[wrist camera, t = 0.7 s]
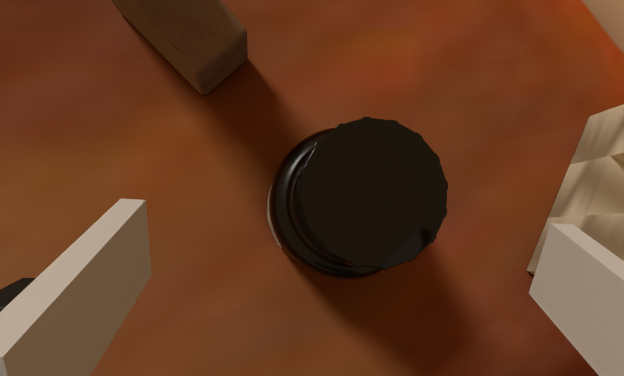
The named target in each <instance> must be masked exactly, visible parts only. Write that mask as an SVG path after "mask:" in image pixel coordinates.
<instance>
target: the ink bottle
mask: <svg viewBox="0 0 624 376" xmlns="http://www.w3.org/2000/svg"><path fill="white" fill-rule="evenodd" d="M447 189H448V183H447V181H446V179H445V176H444V173H443V170H442V167H441V165H440V159H439V157H438V155H437V154H436V153H434V152H433V151H432V149H431V148H430V147H429V146H428V144H427V143H426V142H425V141H424V140H423V137H422V136H421V135H420V134H418V133H417V132H413V131H412V130H410V129H408V128H406V127H405V126H403V125H401V124H399V123H398V122H397V121H394V120H383V119H374V118H371V117H363V118H362V119H360V120H356V121H352V122H349V123H345V124H343V123H342V124H339V125H338V126H336V127H335V128H331V129H326V130H323V131H320V132H317V133H315V134H313V135H311V136H309V137H307V138H306V139H304V140H303V141H301V142H300V143H299V144H298V145H296V146H295V147H294V148H293V149H292V150H291V151H290V152H289V154H288V155H287V156H286V157H285V159H284V160H283V162H282V163H281V165H280V166H279V168H278V170H277V172H276V175H275V177H274V180H273V182H272V185H271V188H270V191H269V195H268V200H267V218H268V223H269V227H270V230H271V232H272V234H273V236H274V238H275V240H276V242H277V244H278V246H280V247H281V248H282V249H283V251H284V252H285V253H286V254H288V255H289V256H290V257H291V258H292V259H294V260H295V261H297V262H298V263H300V264H301V265H303V266H305V267H306V268H308V269H310V270H311V271H314V272H316V273H318V274H321V275H323V276H327V277H330V278H335V279H345V280H350V279H360V278H364V277H368V276H371V275H373V274H376V273H378V272H380V271H381V270H385V269H389V268H390V267H392V266H396V265H398V264H401V263H404V262H407V261H412V260H414V259H415V258H416V257H417V255H418V254H419V253H420V252H422V251H423V250H424V249H425V248H426V247H427V246H428V245H429V244H430V243H432V242H433V241H434V240H435V239H436V234H437V232H438V230H439V228H440V226H441V224H442V221H443V219H444V218H445V217H446V214H447V209H446V204H447Z"/></svg>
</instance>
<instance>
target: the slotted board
mask: <svg viewBox="0 0 624 376" xmlns="http://www.w3.org/2000/svg"><path fill="white" fill-rule="evenodd" d="M551 223H555V224H573V225H574V226H576V227H577V228H579V229H580V230H581V231H583V232H584V233H586V234H587V235H588V236H590V237H591V238H592V239H594V240H595V241H597V242H598V243H599V244H601V245H602V246H603V247H605V248H606V249H608V250H609V251H610V252H612V253H613V254H615V255H616V256H617V257H619V258H620V259H621V260H623V261H624V104H623V105H620V106H617V107H615V108H612V109H609V110H606V111H603V112H600V113H598V114H595V115H592V116H590V117H589V119H588V122H587V124H586V127H585V129H584V131H583V134H582V136H581V139H580V141H579V144H578V146H577V149H576V151H575V153H574V156H573V158H572V161H571V163H570V166H569V168H568V171H567V173H566V175H565V178H564V180H563V183H562V185H561V188H560V190H559V193H558V195H557V197H556V200H555V202H554V205H553V207H552V210H551V212H550V215H549V217H548V219H547V222H546V224H545V227H544V229H543V232H542V234H541V236H540V239H539V241H538V244H537V246H536V249H535V251H534V254H533V256H532V258H531V261H530V263H529V266H528V268H527V271H528V272H530V273H531V274H533V275H535V272H536V269H537V265H538V262H539V259H540V256H541V253H542V249H543V246H544V243H545V240H546V236H547V233H548V230H549V227H550V224H551Z"/></svg>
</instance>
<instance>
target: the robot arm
mask: <svg viewBox="0 0 624 376" xmlns="http://www.w3.org/2000/svg"><path fill="white" fill-rule="evenodd" d="M150 277H151V263H150V250H149V237H148V224H147V212H146V200H135V199H120V200H119V201H118V202H117V203H116V204H115V205H113V206H112V207H111V208H110V209H109V210H108V211H107V212H106V213H105V214H104V215H103V216H102V217H101V218H100V219H99V220H98V221H96V222H95V223H94V224H93V225H92V226H91V227H90V228H89V229H88V230H87V231H86V232H85V233H84V234H83V235H82V236H81V237H79V238H78V239H77V240H76V241H75V242H74V243H73V244H72V245H71V246H70V247H69V248H68V249H67V250H66V251H65V252H63V253H62V254H61V255H60V256H59V257H58V258H57V259H56V260H55V261H54V262H53V263H52V264H51V265H50V266H49V267H48V268H46V269H45V270H44V271H43V272H42V273H41V274H40V275H39V276H38V277H37V278H22V279H20V280H18V281H16V282H14V283H12V284H10V285H8V286H6V287H5V288H3V289H1V290H0V376H90V375H91V373H92V372H93V370H94V368H95V367H96V365H97V364H98V362H99V360H100V359H101V357H102V355H103V354H104V352H105V350H106V349H107V347H108V346H109V344H110V342H111V341H112V339H113V337H114V336H115V334H116V332H117V331H118V329H119V328H120V326H121V324H122V323H123V321H124V319H125V318H126V316H127V314H128V313H129V311H130V309H131V308H132V306H133V305H134V303H135V301H136V300H137V298H138V296H139V295H140V293H141V291H142V290H143V288H144V287H145V285H146V283H147V282H148V280H149V278H150ZM529 294H530V296H531V297H532V298H533V299H534V300H535V301H536V303H537V304H538V305H539V306H540V307H541V308H542V310H543V311H544V312H545V313H546V314H547V315H548V317H549V318H550V319H551V320H552V321H553V322H554V324H555V325H556V326H557V327H558V328H559V329H560V331H561V332H562V333H563V334H564V335H565V336H566V338H567V339H568V340H569V341H570V342H571V343H572V345H573V346H574V347H575V348H576V349H577V350H578V352H579V353H580V354H581V355H582V356H583V357H584V359H585V360H586V361H587V362H588V363H589V365H590V366H591V367H592V368H593V369H594V370H595V372H596V373H597V374H598V375H599V376H624V261H623V260H621V259H620V258H619V257H617V256H616V255H615V254H613V253H612V252H610V251H609V250H608V249H606V248H605V247H603V246H602V245H601V244H599V243H598V242H597V241H595V240H594V239H592V238H591V237H590V236H588V235H587V234H586V233H584V232H583V231H581V230H580V229H579V228H577V227H576V226H574V225H573V224H555V223H551V224H550V227H549V230H548V233H547V236H546V240H545V243H544V246H543V249H542V253H541V256H540V259H539V262H538V265H537V269H536V272H535V275H534V278H533V281H532V285H531V288H530V291H529Z"/></svg>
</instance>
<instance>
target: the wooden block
mask: <svg viewBox="0 0 624 376" xmlns="http://www.w3.org/2000/svg"><path fill="white" fill-rule="evenodd" d="M112 1H113V3H114V4H115V6H116V8H117V9H118V11H119V12H120V13H121V14H122V15H123V16H124V17H125V18H126V19H127V20H128V21H129V22H130V23H131V24H132V25H133V26H134V27H135V28H136V29H137V30H138V31H139V32H140V33H141V34H142V35H143V36H144V37H145V38H146V39H147V40H148V41H149V42H150V43H151V44H152V45H153V46H154V47H155V48H156V49H157V50H158V51H159V52H160V53H161V54H162V55H163V57H164V58H165V59H166V60H167V61H168V62H169V63H170V64H171V65H172V66H173V67H174V68H175V69H176V70H177V71H178V72H179V73H180V74H181V75H182V76H183V77H184V78H185V79H186V80H187V81H188V82H189V83H190V84H191V85H192V86H193V87H194V88H195V89H196V90H197V91H198V92H199V93H200V94H202V95H206V94H208V93H209V92H211V91H212V90H213V89H214V88H215V87H216V86H217V85H219V84H220V83H221V82H222V81H223V80H224V79H226V78H227V77H228V76H229V75H230V74H231V73H232V72H234V71H235V70H236V69H237V68H238V67H239V66H240V65H242V64H243V63H244V62H245V61H246V59H247V57H248V54H247V31H246V29H245V27H244V26H243V25H242V24H241V23H240V21H239V20H238V19H237V18H236V17H235V16H234V15H233V13H232V12H231V11H230V10H229V9H228V8H227V7H226V5H225V4H224V3H223V2H222V1H221V0H112Z"/></svg>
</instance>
